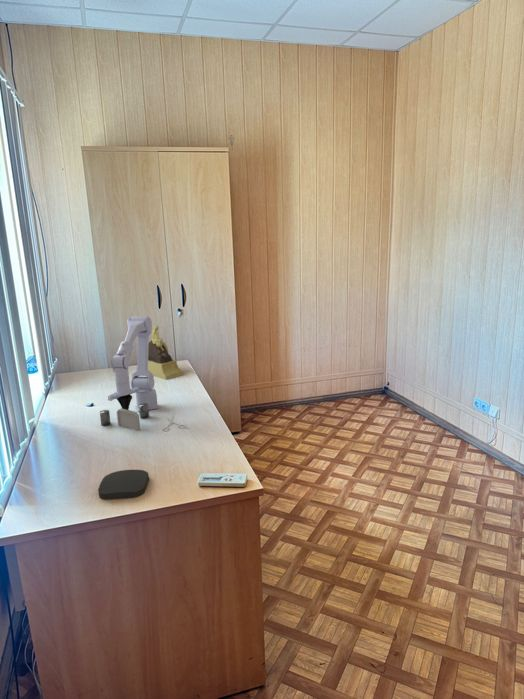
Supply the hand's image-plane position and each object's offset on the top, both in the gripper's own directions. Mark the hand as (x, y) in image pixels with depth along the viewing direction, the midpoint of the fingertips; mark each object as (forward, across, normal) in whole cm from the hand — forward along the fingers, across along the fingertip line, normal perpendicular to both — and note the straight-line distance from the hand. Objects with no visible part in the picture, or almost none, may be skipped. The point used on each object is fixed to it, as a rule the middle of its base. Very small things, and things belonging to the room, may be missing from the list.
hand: (125, 411), depth 206 cm
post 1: (+5, +6, -7) cm, 11 cm away
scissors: (+6, -12, +16) cm, 21 cm away
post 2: (+5, -9, 0) cm, 11 cm away
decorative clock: (+6, -60, -53) cm, 80 cm away
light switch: (+6, +2, +5) cm, 8 cm away
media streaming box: (+6, +33, +47) cm, 58 cm away
